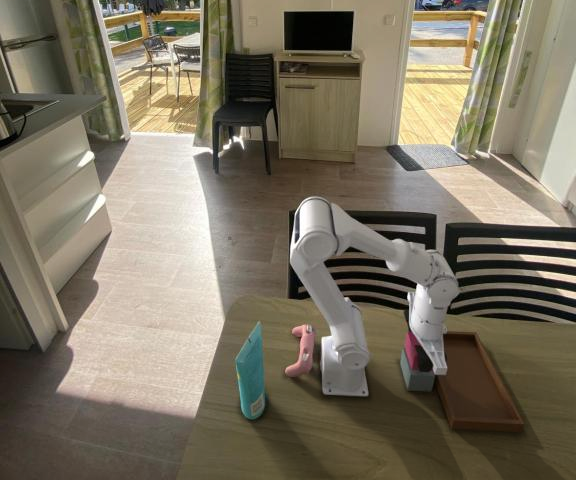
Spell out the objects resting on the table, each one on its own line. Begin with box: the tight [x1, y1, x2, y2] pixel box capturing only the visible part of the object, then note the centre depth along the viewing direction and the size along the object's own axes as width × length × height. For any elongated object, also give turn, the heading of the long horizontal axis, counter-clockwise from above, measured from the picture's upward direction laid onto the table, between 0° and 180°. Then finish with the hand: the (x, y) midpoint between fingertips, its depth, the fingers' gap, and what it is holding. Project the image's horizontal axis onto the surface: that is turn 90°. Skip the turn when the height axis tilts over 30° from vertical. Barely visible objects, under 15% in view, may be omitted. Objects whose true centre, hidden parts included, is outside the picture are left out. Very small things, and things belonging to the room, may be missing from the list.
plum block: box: [404, 331, 433, 371], centre depth 62 cm, size 4×4×4 cm
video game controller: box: [284, 323, 317, 378], centre depth 68 cm, size 10×5×7 cm, turn 168°
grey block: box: [399, 347, 435, 392], centre depth 64 cm, size 5×5×5 cm
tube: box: [234, 320, 266, 420], centre depth 57 cm, size 7×5×19 cm, turn 156°
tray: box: [433, 330, 525, 433], centre depth 64 cm, size 13×16×3 cm
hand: (419, 356), depth 63 cm, fingers closed on plum block, 4 cm apart
